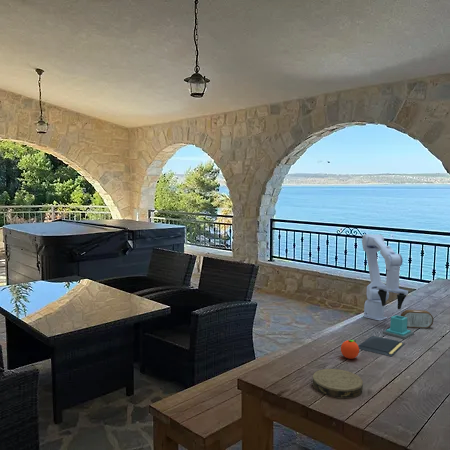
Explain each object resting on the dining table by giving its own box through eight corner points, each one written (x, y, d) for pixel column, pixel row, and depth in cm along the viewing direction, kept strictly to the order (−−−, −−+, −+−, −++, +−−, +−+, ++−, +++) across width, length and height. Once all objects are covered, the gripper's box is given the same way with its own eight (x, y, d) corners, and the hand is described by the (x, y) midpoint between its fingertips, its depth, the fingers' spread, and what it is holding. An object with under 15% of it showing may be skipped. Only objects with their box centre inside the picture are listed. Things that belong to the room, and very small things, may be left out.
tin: (431, 327, 206) (432, 310, 206) (433, 329, 203) (434, 312, 202) (399, 325, 208) (400, 308, 207) (401, 327, 204) (402, 310, 204)
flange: (386, 331, 195) (386, 317, 194) (393, 328, 200) (394, 313, 200) (403, 336, 189) (404, 321, 188) (410, 332, 194) (411, 317, 194)
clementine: (347, 352, 170) (348, 335, 169) (363, 357, 165) (364, 339, 164) (336, 357, 164) (337, 339, 164) (353, 363, 159) (354, 344, 159)
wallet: (371, 333, 191) (407, 341, 181) (371, 337, 191) (406, 345, 181) (354, 344, 176) (391, 354, 166) (353, 349, 176) (391, 358, 166)
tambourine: (332, 402, 129) (333, 393, 129) (303, 381, 144) (303, 372, 143) (373, 393, 135) (373, 384, 135) (340, 374, 150) (341, 365, 150)
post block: (382, 333, 195) (383, 323, 194) (392, 329, 202) (393, 318, 201) (404, 339, 187) (405, 328, 187) (413, 334, 194) (414, 323, 194)
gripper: (374, 277, 205) (373, 305, 206) (404, 282, 195) (402, 311, 196) (381, 276, 210) (379, 303, 211) (410, 280, 200) (409, 309, 201)
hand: (391, 307), depth 204 cm, fingers open, 7 cm apart
